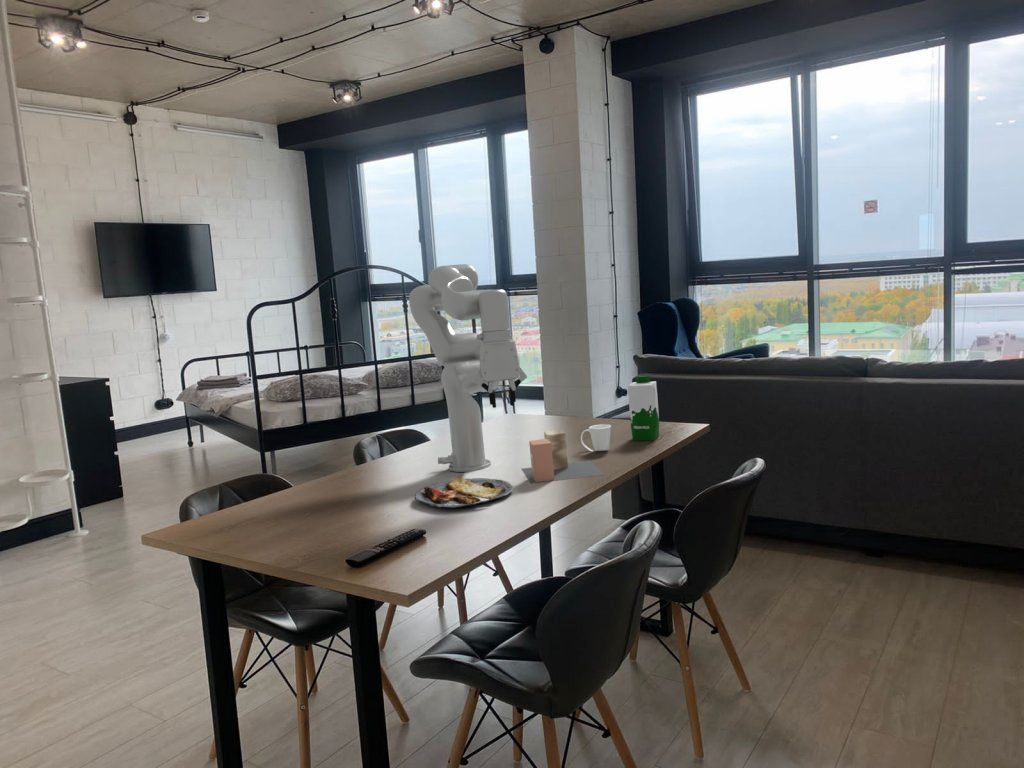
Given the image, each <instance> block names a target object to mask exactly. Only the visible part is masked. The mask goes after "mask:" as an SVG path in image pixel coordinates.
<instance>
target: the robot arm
mask: <svg viewBox="0 0 1024 768" xmlns="http://www.w3.org/2000/svg"><path fill="white" fill-rule="evenodd" d="M478 275H479V274H478V272H477V270H476V269H475V268H474V267H473V266H472V265H470V264H468V263H467V264H450V265H449V264H448V265H441V266H437V267H435V268H434V269H432V270H431V271H430V273H429V276H428V284H424V285H419V286H416V287H414V288H413V289H412V291H410V293H409V296H408V302H409V303H408V304H409V309H410V313H411V315H412V317H413V319H414V321H415V323H416V324H417V326H418V327H419V328H420V329H421V331H422V332H423V333H424V334H425V336H426V338H427V340H428V344H429V345H430V347H431V350H432V352H433V354H434V356H435V358H436V360H437V362H438V364H440V365H441V366H443V367H444V368H443V369H442V371H441V374H440V375H441V376H440V378H441V384H442V387H443V391H444V395H445V399H446V406H447V414H448V423H449V424H448V425H449V432H450V443H451V452H450V454H449V455H447V456H440V457H437V464H438V465H440V464H442V465H447V464H449V465H448V470H449V471H450V472H455V473H465V472H467V473H468V472H474V471H480V470H484V469H486V468H488V467H490V466H492V465H491V463H492V461H491V460H490V459H487V458H486V454H485V444H484V433H483V422H482V414H481V408H480V405H479V403H478V402H477V401H476V399H475V398H473V396H472V394H475V393H479V392H487V393H488V398H489V399H488V400H489V405H492V408H493V409H496V407H497V403H496V402H497V401H496V392H495V390H494V389H496V388H498V386H500V383H501V382H502V381H507V382H508V384H509V385H508V386H509V390H508V397H509V398H508V399H509V400H508V401H509V405H510V406H511V407H514V406H515V403H517V401H516V390H517V389H518V387H519V386H520V384H521V383H523V382H524V380H526V379H527V378H528V376H527V374H526V373H525V372H524V370H523V369H522V368H521V367H520V361H519V355H518V350H517V345H516V341H515V340H512V333H511V322H510V311H509V299H508V294H507V292H506V290H504V289H499V288H498V289H481V290H480V289H479V290H478V289H477V288H478V284H479V276H478ZM437 312H445V313H446V315H448V316H449V317H451V318H453V319H454V320H456V321H467V320H468V321H470V320H476V319H477V320H478V319H480V328H481V333H476V332H466V333H457V332H456V331H455V330H454V327H453V325H452V323H450V321H449V320H448V319H447V318H446V317H444V316H442V315H441V314H439V313H437Z"/></svg>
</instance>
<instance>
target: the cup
mask: <svg viewBox="0 0 1024 768" xmlns="http://www.w3.org/2000/svg"><path fill="white" fill-rule="evenodd" d="M611 428H612V425H611V424H595V425H591V426H589V427H588V429H585V430H583V431H582V432H581V434H580V443H581V445H582V446H583V448H585V449H586V450H587V451H589V452H594V451H597V452H602V451H607V450H609V449H610V443H611ZM585 432H589V435H590V438H591V439H590V440H591V442H592V446H593V449H594V450H593V449H591V448H589V447H588V446H587V445H586V444H585V443H584V441H583V438H584V437H583V435H584V434H585Z"/></svg>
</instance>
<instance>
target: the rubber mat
mask: <svg viewBox="0 0 1024 768" xmlns="http://www.w3.org/2000/svg"><path fill="white" fill-rule="evenodd" d="M521 470H522V472H523V473H524V476H525V477H526V478H527V480H528V482H529V483H530V484H531V485H532V484H541V483H549V482H556V481H564V480H565V481H566V480H572V479H581V478H590V477H591V478H592V477H598V476H605V475H606V474H605V473H604V472H602V470H601V469H599V468H598V467H597V466H596V465H595V464H594V463H593V462H592V461H591V460H585V461H584V460H582V461H574V462H568V468H565V469H557V470H554V480H549V481H541V482H536V481H535V480H534V478H533V477H532V467H531V466H530V467H524V468H521Z"/></svg>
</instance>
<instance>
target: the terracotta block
mask: <svg viewBox="0 0 1024 768" xmlns="http://www.w3.org/2000/svg"><path fill="white" fill-rule="evenodd" d="M528 444H529V453H530V455H529V456H530V463H531V465H530V468H531V467H532V477H533V478H534V480H535V481H536V482H541V481H549V480H554V469H553V457H552V445H551V442H550V441H549V440H548V439H545V438H543V439H536V440H534V439H533V440H529V443H528Z"/></svg>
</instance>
